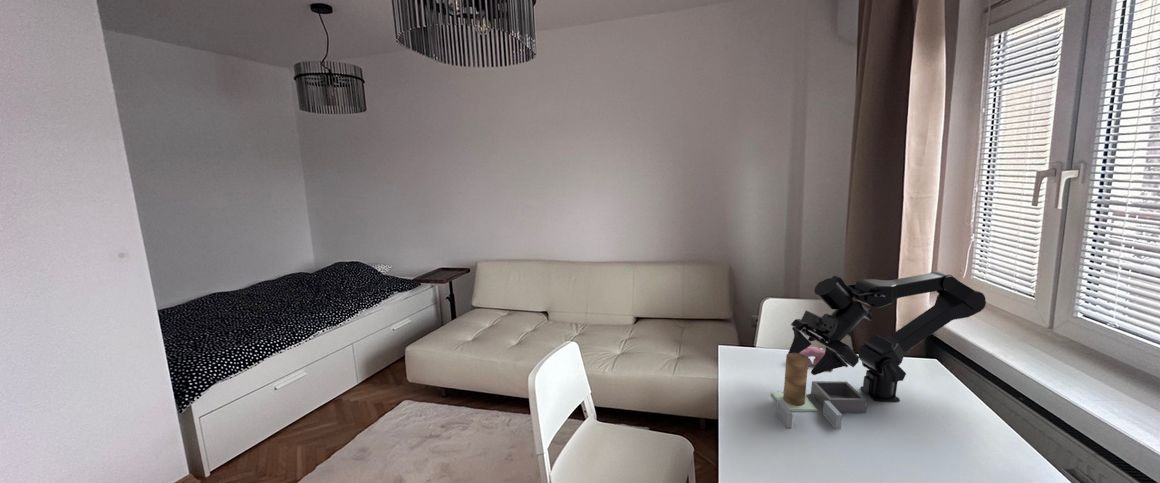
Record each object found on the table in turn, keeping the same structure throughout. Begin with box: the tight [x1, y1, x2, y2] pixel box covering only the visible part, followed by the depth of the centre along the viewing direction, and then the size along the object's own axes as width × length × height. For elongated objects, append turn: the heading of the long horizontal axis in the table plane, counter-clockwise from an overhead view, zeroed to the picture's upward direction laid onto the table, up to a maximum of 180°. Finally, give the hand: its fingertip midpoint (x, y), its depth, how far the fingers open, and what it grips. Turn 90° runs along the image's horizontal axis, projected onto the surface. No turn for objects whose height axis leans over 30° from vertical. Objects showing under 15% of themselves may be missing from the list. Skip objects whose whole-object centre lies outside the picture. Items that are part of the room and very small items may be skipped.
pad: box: [771, 391, 818, 412], centre depth 113 cm, size 8×8×1 cm
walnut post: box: [783, 352, 809, 406], centre depth 112 cm, size 5×5×12 cm
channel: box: [776, 400, 843, 430], centre depth 105 cm, size 12×6×4 cm, turn 87°
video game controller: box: [799, 346, 834, 372], centre depth 131 cm, size 10×5×7 cm, turn 85°
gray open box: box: [810, 380, 868, 414], centre depth 112 cm, size 9×9×4 cm
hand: (799, 365), depth 111 cm, fingers open, 9 cm apart
